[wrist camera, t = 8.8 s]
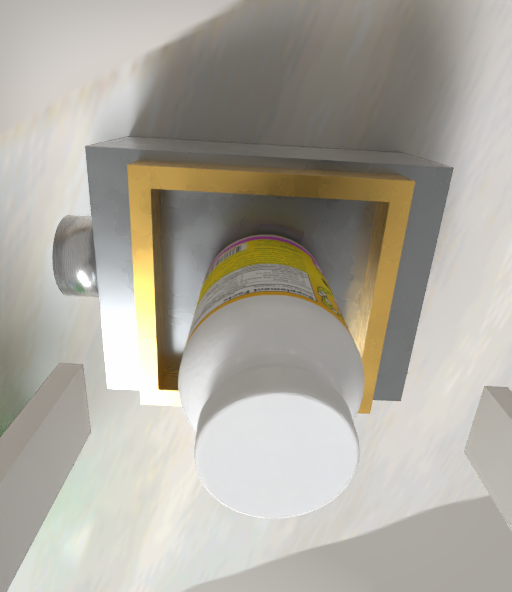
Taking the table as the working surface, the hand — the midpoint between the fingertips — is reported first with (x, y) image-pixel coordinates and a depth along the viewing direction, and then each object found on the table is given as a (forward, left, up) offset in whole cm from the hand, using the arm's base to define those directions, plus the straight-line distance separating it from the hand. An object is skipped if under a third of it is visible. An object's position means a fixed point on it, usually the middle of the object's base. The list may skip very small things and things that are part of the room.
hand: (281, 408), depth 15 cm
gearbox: (+2, 0, -18) cm, 19 cm away
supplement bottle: (0, 0, -11) cm, 11 cm away
